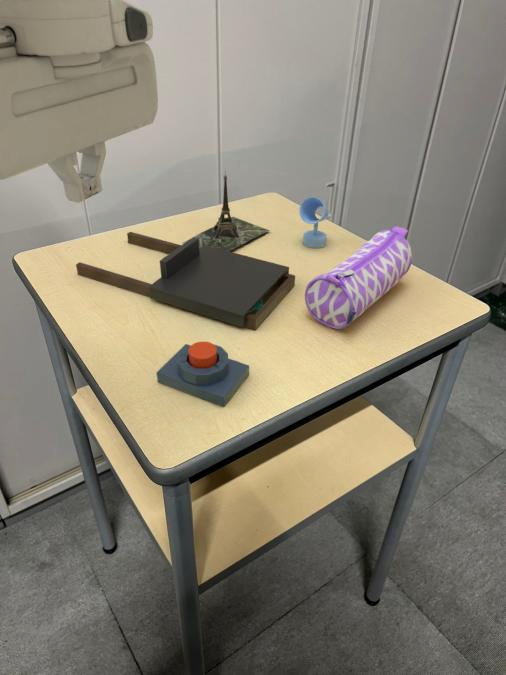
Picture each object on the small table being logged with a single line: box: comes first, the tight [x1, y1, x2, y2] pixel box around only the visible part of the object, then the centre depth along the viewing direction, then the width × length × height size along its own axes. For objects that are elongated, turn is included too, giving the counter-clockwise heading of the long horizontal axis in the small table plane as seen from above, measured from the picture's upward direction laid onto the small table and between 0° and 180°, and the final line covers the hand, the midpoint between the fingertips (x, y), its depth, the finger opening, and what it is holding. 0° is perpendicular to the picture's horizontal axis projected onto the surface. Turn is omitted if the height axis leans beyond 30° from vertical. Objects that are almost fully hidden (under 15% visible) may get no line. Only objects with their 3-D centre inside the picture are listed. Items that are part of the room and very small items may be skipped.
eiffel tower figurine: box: [182, 169, 271, 252], centre depth 99 cm, size 15×10×13 cm
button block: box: [156, 343, 250, 408], centre depth 68 cm, size 10×7×4 cm
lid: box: [149, 236, 290, 328], centre depth 85 cm, size 17×17×5 cm
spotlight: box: [298, 196, 330, 249], centre depth 98 cm, size 5×10×7 cm
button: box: [188, 341, 217, 369], centre depth 66 cm, size 4×4×2 cm
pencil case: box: [304, 225, 413, 330], centre depth 82 cm, size 22×9×10 cm, turn 143°
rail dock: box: [75, 231, 296, 331], centre depth 89 cm, size 35×15×2 cm, turn 63°
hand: (84, 196), depth 48 cm, fingers closed
